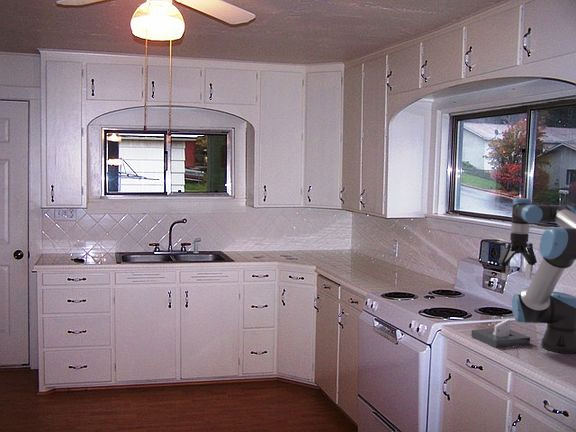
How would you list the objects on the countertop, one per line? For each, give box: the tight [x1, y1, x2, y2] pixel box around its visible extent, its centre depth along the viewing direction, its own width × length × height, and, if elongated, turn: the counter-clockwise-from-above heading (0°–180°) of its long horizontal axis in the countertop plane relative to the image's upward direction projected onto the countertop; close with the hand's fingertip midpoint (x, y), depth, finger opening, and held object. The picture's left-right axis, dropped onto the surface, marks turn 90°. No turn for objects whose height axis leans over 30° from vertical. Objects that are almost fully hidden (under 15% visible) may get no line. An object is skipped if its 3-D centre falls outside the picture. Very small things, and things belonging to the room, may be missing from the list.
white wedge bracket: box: [493, 318, 511, 337], centre depth 267 cm, size 4×10×9 cm, turn 92°
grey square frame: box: [471, 327, 531, 349], centre depth 267 cm, size 16×18×3 cm
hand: (516, 279), depth 277 cm, fingers open, 13 cm apart
